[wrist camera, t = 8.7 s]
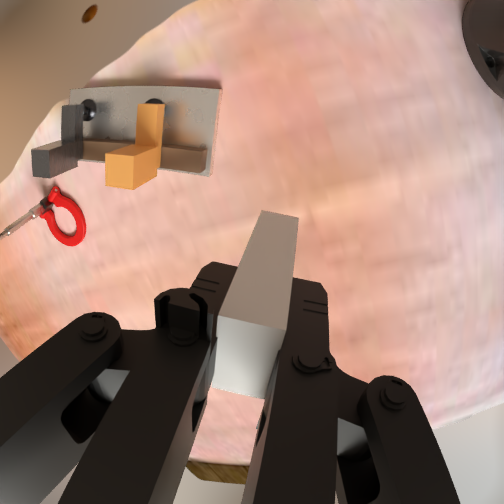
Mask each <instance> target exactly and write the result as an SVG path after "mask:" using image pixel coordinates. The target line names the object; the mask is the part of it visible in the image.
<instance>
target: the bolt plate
mask: <svg viewBox="0 0 504 504" xmlns="http://www.w3.org/2000/svg"><path fill="white" fill-rule="evenodd" d="M221 97H222V90H221V89H210V88H197V87H177V86H113V87H95V88H81V89H72V90H70V103H69V105H72V104H84V106H87V107H88V113H87V114H86V115H83V159H81V160H78V161H88V162H99V163H105V153H108V152H111V151H114V150H117V149H119V148H122V147H125V146H128V145H131V144H135V138H136V121H137V108H138V104H144V103H150V104H165V110H166V113H165V115H164V119H163V131H162V145H161V161H160V167H159V168H157V169H159V170H167V171H174V172H181V173H188V174H194V175H201V176H207V177H210V176H211V175H212V171H213V162H214V153H215V144H216V136H217V128H218V120H219V112H220V104H221Z"/></svg>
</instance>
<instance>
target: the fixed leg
mask: <svg viewBox="0 0 504 504" xmlns="http://www.w3.org/2000/svg"><path fill="white" fill-rule="evenodd" d="M87 113H88V107H87V106H84V104H72V105H64V106H62V122H61V141H60V140H59V141H56V142H53V143H50V144H46V145H43V146H40V147H37V148H34V149H31V154H32V170H33V176H34V177H42V178H52V177H55V176H57V175H59V174H61V173H64V172H66V171H68V170H71V169H73V168H76V167H78V165H77V161H78V160H81V159H83V115H86V114H87Z"/></svg>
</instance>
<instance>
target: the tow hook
mask: <svg viewBox="0 0 504 504" xmlns="http://www.w3.org/2000/svg"><path fill="white" fill-rule="evenodd" d="M53 204H55V206H56V207H64V208H66V209H68V210H69V211H70V212H71V213H72V215H73V217H74V219H75V221H76V225H77V230H76V234H75V235H74V236H67V235H65V234H63V233H62V232H61V231H60V230H59V228H58V227H57V225H56V222H55V218H54V213H53V212H52V211H51V208H52V206H53ZM38 216H40V217H41V218H44V219H45V220H46V221H47V224H48V226H49V229H50V231H51V232H52V234H53V235H54V237H55V238H56V239H57V240H58V241H60V242H61V243H62V244H65V245H67V246H76V245H78V244H79V243H80V242H82V240H83V239H84V237H85V234H86V223H85V218H84V216H83V214H82V212H81V210H80V208H79V207H78V206H77V205H76V204H75V202H74V201H72V200H71V199H69V198H67V197H64V196H62V195H61V194H60V189H59V188H58V187H56V186H55V187H53V188H52V190H51V192H50V194H49V196H47V197H46V198H44V199H42V200H41V201H40V203H39V204H38V205H36V206H34V207H33V208H31V209H30V210H29V212H28V213H27V214H25V215H24V216H22V217H21V218H19V219H18V220H16V221H15V222H13V223H12V224H11V225H9V226H8V227H6V228H5V230H4V231H3V232H2V233H1V234H0V240H2V239H3V238H4V237H5V236H9V235H10V234H12V233H13V232H14V231H16V230H17V229H19V228H20V227H21V226H23V225H24V224H25V223H27V222H28V221H30V220H31V219H35V218H37V217H38Z"/></svg>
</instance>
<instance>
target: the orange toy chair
mask: <svg viewBox="0 0 504 504" xmlns="http://www.w3.org/2000/svg"><path fill="white" fill-rule="evenodd" d="M165 113H166V110H165V104H150V103H144V104H138V108H137V121H136V138H135V144H131V145H128V146H125V147H122V148H119V149H117V150H114V151H111V152H108V153H105V180H106V186H110V187H117V188H123V189H130V190H134V189H136V188H137V187H139V186H141V185H142V184H144V183H146V182H148V181H149V180H151V179H153V178H154V177H156V176H157V168H159V167H160V161H161V145H162V131H163V119H164V115H165Z"/></svg>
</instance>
